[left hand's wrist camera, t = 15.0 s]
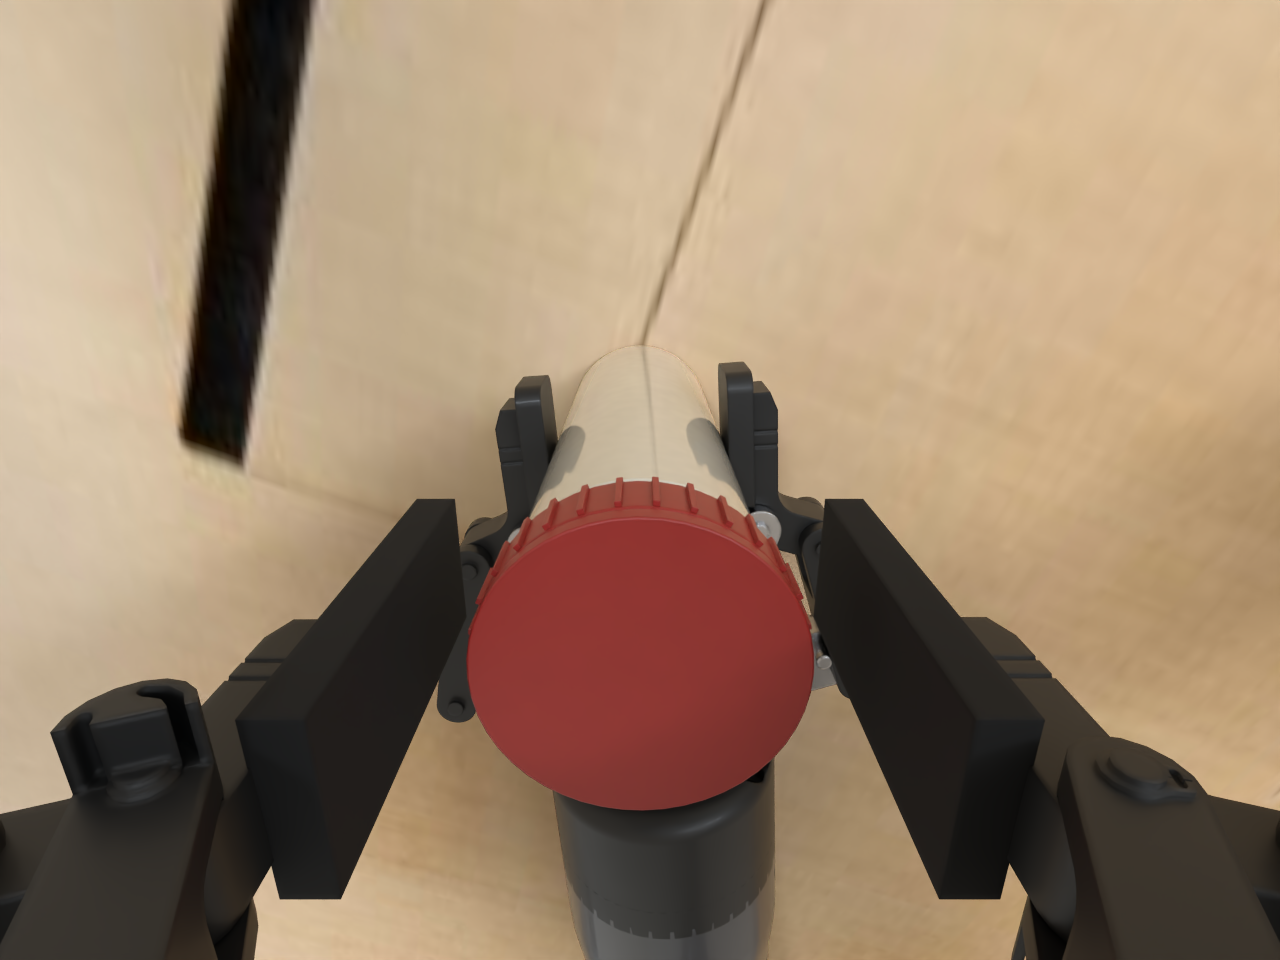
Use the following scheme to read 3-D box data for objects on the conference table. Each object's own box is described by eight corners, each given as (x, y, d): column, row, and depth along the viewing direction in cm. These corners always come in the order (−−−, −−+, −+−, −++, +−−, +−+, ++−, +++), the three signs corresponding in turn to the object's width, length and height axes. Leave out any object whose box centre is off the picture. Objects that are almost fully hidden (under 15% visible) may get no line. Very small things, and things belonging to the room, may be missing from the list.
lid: (433, 674, 12) (405, 734, 11) (572, 414, 11) (561, 443, 9) (694, 788, 13) (701, 859, 12) (860, 566, 11) (892, 615, 10)
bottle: (648, 316, 24) (661, 444, 10) (731, 418, 26) (849, 663, 11) (548, 402, 26) (427, 631, 11) (632, 495, 27) (623, 810, 12)
